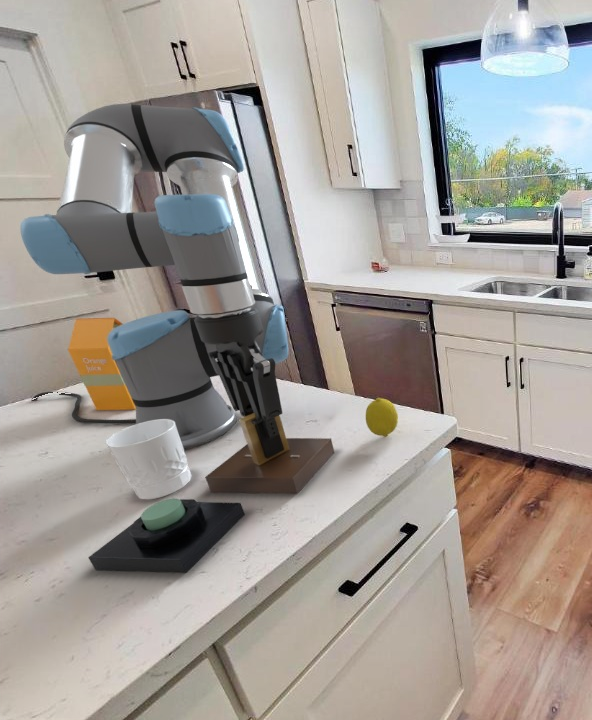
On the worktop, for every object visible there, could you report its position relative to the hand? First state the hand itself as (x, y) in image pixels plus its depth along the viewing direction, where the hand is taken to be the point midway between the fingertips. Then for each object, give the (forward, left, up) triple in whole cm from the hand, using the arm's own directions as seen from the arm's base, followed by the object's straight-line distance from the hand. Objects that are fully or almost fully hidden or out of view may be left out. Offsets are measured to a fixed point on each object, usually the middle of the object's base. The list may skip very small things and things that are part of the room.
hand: (270, 451), depth 68 cm
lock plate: (0, 0, -4) cm, 4 cm away
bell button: (-4, -15, 0) cm, 16 cm away
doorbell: (-4, -15, -4) cm, 16 cm away
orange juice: (-52, +25, -4) cm, 58 cm away
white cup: (-16, -4, -4) cm, 17 cm away
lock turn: (0, 0, -1) cm, 1 cm away
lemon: (+14, +11, -4) cm, 18 cm away
